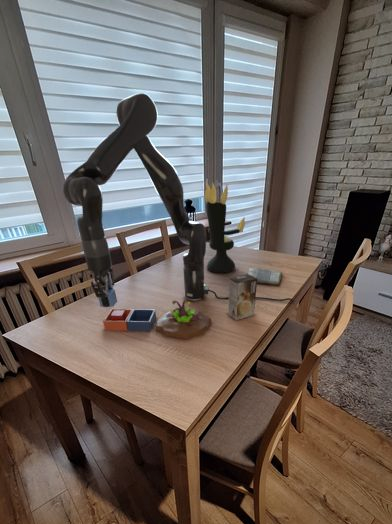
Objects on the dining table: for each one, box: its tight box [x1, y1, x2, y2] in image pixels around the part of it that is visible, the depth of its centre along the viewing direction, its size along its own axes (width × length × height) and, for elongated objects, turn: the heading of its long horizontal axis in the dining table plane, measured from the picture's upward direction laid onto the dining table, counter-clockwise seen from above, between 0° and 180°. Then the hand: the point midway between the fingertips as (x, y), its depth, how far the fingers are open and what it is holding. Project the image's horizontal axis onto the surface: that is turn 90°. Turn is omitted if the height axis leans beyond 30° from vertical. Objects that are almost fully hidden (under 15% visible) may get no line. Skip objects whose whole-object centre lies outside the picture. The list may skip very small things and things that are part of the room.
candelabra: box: [204, 182, 246, 274], centre depth 149 cm, size 19×22×45 cm
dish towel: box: [247, 267, 283, 286], centre depth 149 cm, size 19×18×3 cm
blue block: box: [97, 288, 118, 308], centre depth 93 cm, size 4×4×4 cm
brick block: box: [111, 310, 126, 321], centre depth 110 cm, size 4×4×4 cm
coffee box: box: [227, 273, 258, 321], centre depth 111 cm, size 9×6×16 cm
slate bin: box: [127, 308, 157, 332], centre depth 110 cm, size 9×11×4 cm
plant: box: [155, 299, 212, 340], centre depth 106 cm, size 20×20×11 cm
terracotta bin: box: [102, 308, 134, 332], centre depth 110 cm, size 9×11×4 cm
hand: (109, 303), depth 95 cm, fingers closed on blue block, 4 cm apart
